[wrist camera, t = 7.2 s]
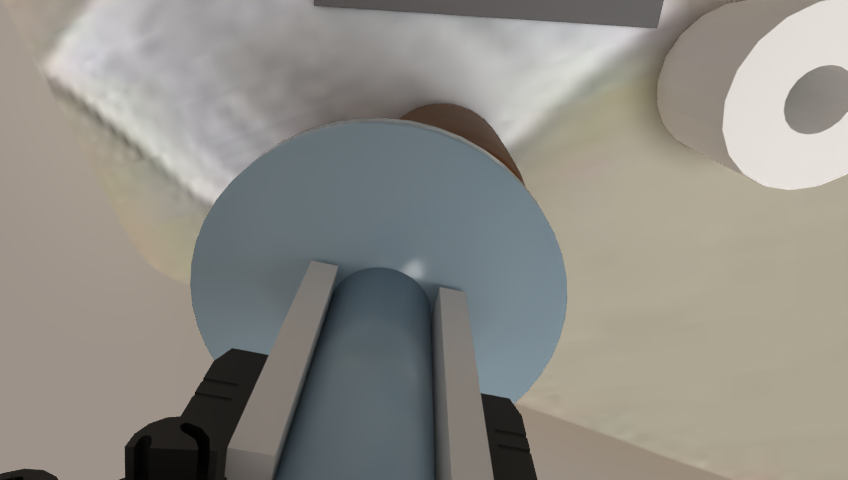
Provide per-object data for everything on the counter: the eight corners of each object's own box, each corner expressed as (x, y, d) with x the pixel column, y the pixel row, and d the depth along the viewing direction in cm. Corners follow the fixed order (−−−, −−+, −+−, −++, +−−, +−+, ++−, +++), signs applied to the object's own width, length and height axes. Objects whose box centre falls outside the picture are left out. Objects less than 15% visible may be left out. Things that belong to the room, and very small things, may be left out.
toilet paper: (887, 13, 26) (1031, 14, 20) (721, 178, 30) (798, 222, 24) (790, -93, 24) (917, -130, 18) (625, 97, 28) (682, 122, 22)
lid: (176, 108, 13) (-126, 228, 6) (587, 126, 13) (785, 262, 6) (227, 421, 18) (91, 705, 10) (532, 431, 18) (608, 715, 11)
